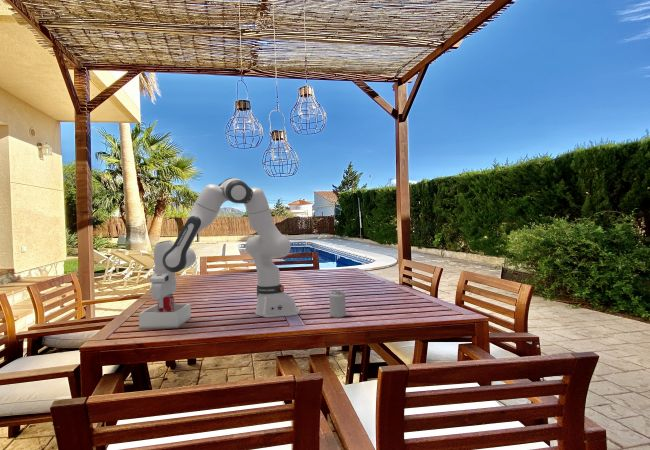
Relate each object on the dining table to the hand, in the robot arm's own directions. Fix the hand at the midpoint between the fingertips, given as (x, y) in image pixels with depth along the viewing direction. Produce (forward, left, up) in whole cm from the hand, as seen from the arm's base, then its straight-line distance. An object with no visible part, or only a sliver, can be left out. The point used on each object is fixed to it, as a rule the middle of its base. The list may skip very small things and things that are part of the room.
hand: (165, 305), depth 174 cm
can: (-80, -4, -9) cm, 81 cm away
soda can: (0, -1, -7) cm, 7 cm away
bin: (0, 0, -8) cm, 8 cm away
